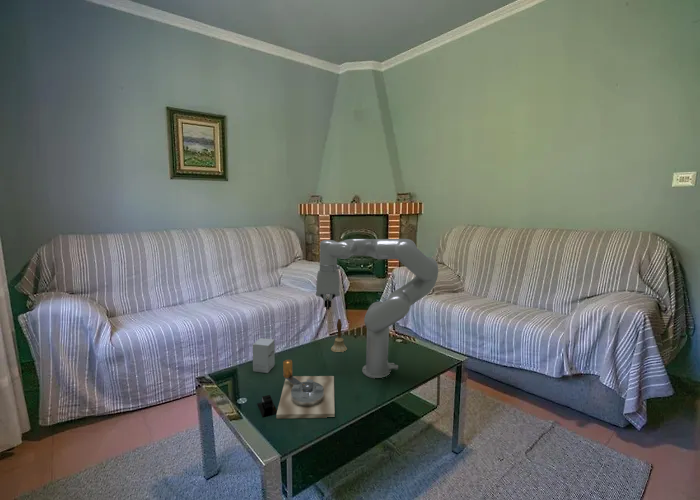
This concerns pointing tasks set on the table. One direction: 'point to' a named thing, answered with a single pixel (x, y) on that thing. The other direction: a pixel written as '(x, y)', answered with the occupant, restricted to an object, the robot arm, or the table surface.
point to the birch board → (317, 411)
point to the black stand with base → (267, 406)
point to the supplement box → (263, 355)
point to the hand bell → (339, 340)
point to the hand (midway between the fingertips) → (327, 308)
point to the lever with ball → (303, 388)
